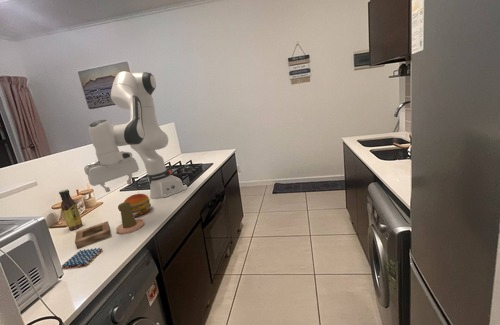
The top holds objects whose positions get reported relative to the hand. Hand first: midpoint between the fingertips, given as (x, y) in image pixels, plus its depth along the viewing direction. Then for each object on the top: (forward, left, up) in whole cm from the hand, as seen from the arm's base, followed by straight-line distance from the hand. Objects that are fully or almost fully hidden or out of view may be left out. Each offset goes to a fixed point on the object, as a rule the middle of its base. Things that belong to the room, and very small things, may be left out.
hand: (119, 187), depth 116 cm
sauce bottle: (+23, -26, -20) cm, 40 cm away
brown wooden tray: (+15, -4, -20) cm, 25 cm away
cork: (0, 0, -19) cm, 19 cm away
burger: (-6, -16, -20) cm, 26 cm away
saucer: (0, 0, -20) cm, 20 cm away
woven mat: (+19, +15, -20) cm, 32 cm away
